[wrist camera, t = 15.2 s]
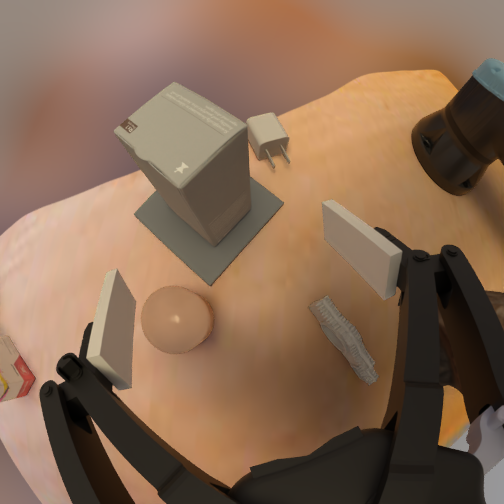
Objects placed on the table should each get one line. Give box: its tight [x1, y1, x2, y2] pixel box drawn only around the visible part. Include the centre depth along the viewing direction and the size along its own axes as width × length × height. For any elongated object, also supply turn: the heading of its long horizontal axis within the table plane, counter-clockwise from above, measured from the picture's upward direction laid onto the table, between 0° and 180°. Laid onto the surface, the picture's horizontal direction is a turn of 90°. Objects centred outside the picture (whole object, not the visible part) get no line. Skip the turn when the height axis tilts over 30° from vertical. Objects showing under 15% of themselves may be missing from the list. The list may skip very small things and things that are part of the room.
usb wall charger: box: [246, 112, 290, 168], centre depth 33 cm, size 4×7×4 cm, turn 22°
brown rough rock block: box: [438, 291, 504, 394], centre depth 20 cm, size 13×13×20 cm
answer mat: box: [134, 177, 284, 286], centre depth 32 cm, size 13×13×1 cm
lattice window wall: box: [308, 295, 379, 386], centre depth 26 cm, size 12×2×6 cm, turn 36°
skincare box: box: [114, 82, 251, 247], centre depth 24 cm, size 8×7×16 cm
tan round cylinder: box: [141, 286, 214, 354], centre depth 26 cm, size 6×6×7 cm
